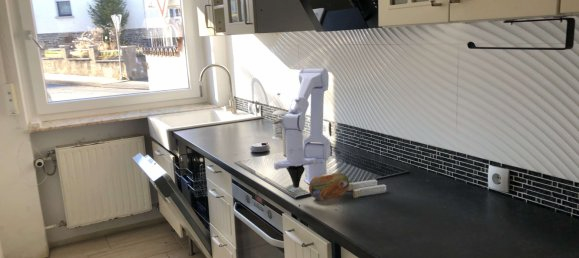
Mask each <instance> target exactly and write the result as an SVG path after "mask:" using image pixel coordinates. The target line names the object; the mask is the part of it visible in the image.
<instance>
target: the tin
mask: <svg viewBox="0 0 579 258" xmlns="http://www.w3.org/2000/svg"><path fill="white" fill-rule="evenodd" d="M349 181H350V180H349V178H348V177H347V175H346V174H344V173H341V172H330V173H327V174H326V175H320V176H316V177H314V178H313V179H312V180H311V182H310V184H308V191H309V194H310V196H311V197H312V198H314V199H315V200H318V201H324V200H328V199H333V198H338V197H342V196H344V195H345V194H346V193H347V192H348V191H347V190H348V187H349V183H350V182H349Z"/></svg>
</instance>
